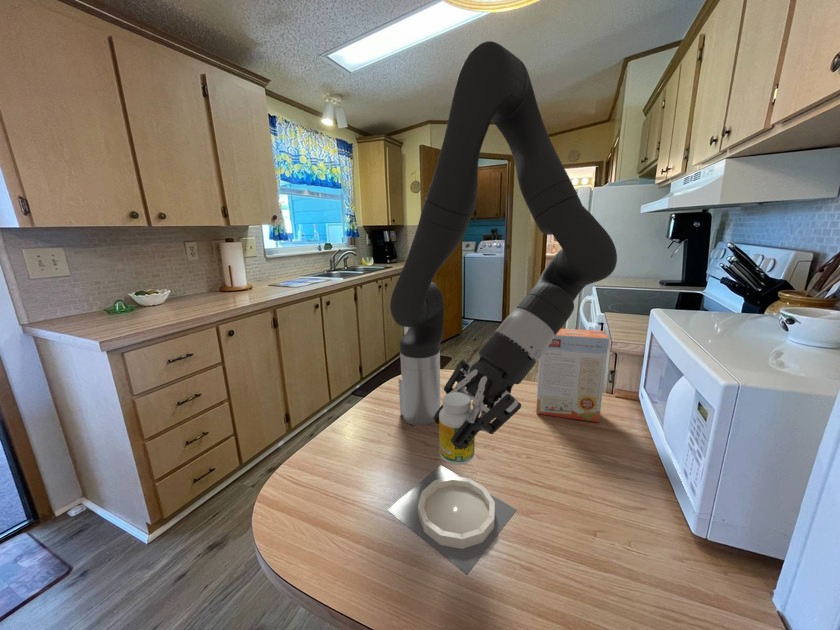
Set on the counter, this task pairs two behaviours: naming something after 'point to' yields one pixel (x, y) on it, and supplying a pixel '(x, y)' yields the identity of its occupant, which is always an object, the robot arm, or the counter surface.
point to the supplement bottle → (454, 428)
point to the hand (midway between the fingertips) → (446, 433)
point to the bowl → (456, 512)
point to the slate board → (459, 557)
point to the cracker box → (573, 375)
